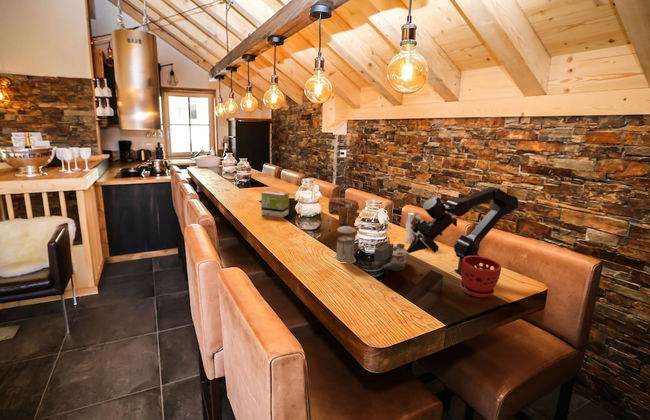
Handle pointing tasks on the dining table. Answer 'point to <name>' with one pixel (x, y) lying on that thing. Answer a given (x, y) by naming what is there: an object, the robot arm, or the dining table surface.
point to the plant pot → (479, 276)
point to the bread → (339, 204)
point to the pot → (391, 263)
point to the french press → (345, 244)
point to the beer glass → (409, 231)
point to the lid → (389, 251)
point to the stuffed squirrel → (351, 214)
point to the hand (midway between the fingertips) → (407, 252)
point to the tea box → (275, 203)
